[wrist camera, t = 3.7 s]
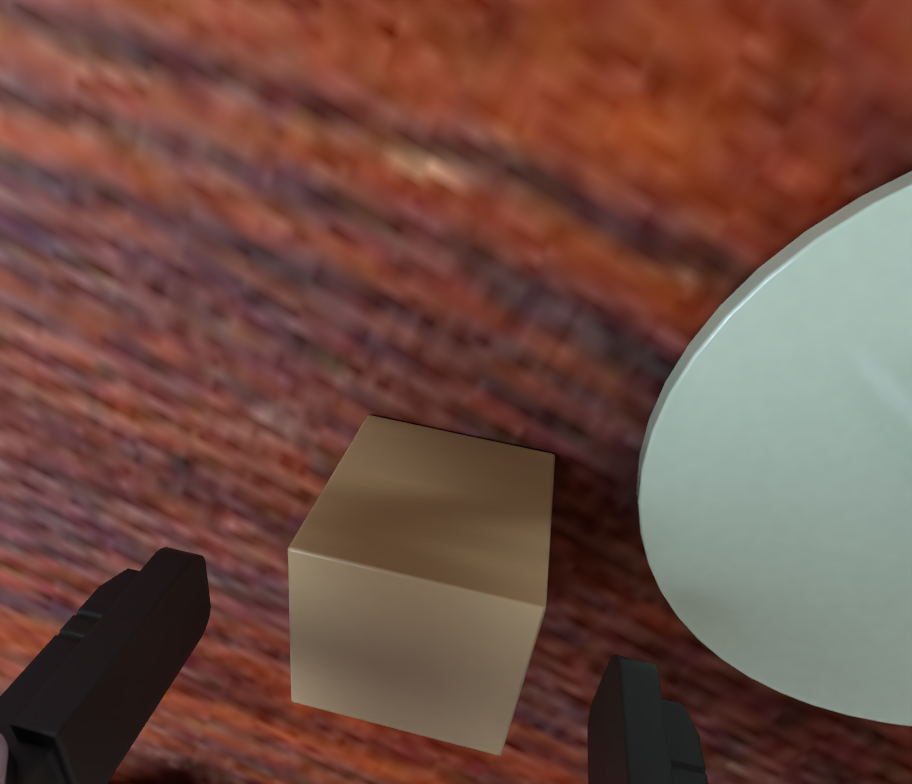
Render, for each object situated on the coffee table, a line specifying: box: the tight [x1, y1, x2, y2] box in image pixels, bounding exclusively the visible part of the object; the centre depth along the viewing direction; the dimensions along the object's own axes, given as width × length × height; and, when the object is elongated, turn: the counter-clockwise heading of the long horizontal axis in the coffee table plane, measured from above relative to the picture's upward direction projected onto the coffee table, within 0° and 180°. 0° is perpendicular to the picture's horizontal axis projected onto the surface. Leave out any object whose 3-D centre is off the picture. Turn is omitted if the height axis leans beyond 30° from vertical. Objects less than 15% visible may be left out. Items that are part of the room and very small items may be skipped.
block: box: [288, 415, 555, 755], centre depth 13 cm, size 4×4×4 cm
